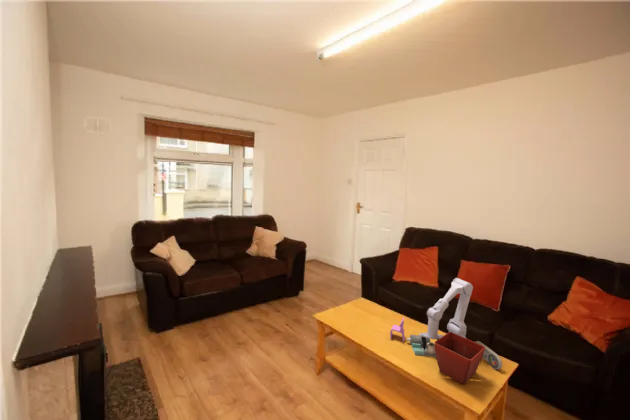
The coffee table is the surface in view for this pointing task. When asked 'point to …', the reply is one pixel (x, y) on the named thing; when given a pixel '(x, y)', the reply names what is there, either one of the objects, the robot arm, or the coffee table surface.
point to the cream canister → (430, 348)
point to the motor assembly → (419, 345)
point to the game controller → (491, 357)
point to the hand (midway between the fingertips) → (430, 349)
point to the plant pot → (458, 356)
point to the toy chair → (398, 329)
